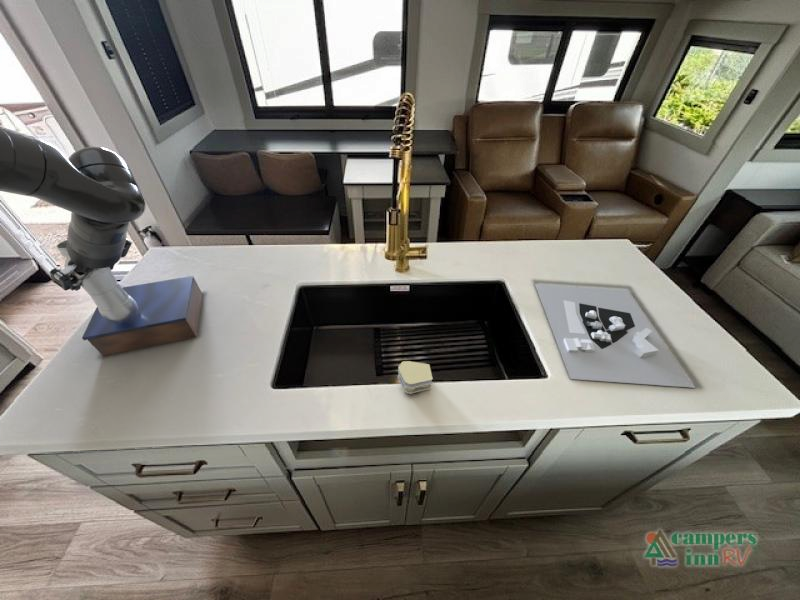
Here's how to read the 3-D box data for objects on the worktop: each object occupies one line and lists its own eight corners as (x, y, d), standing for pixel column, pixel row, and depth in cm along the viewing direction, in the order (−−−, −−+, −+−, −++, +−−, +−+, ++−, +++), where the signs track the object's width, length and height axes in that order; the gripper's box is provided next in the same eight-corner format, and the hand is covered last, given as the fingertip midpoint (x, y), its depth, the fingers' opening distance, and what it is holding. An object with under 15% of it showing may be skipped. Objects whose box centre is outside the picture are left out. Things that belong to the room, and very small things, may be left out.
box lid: (84, 340, 72) (81, 338, 71) (106, 292, 83) (104, 290, 83) (186, 320, 77) (185, 317, 76) (194, 278, 89) (193, 275, 88)
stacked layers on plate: (431, 367, 77) (433, 353, 74) (439, 401, 71) (442, 387, 67) (389, 371, 76) (389, 356, 73) (393, 405, 70) (394, 392, 66)
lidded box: (105, 358, 77) (87, 339, 72) (124, 311, 88) (109, 292, 83) (198, 339, 82) (186, 320, 77) (204, 296, 93) (194, 278, 89)
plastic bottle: (110, 311, 77) (51, 238, 63) (143, 303, 79) (93, 231, 65) (105, 330, 72) (40, 256, 59) (140, 321, 75) (86, 248, 61)
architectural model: (534, 284, 102) (536, 278, 100) (626, 290, 101) (630, 284, 99) (569, 379, 76) (573, 374, 74) (694, 388, 75) (701, 383, 74)
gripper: (115, 205, 62) (106, 246, 72) (31, 244, 52) (34, 284, 62) (151, 235, 64) (136, 270, 75) (76, 277, 54) (72, 311, 65)
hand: (90, 276), depth 68 cm, fingers closed on plastic bottle, 6 cm apart
